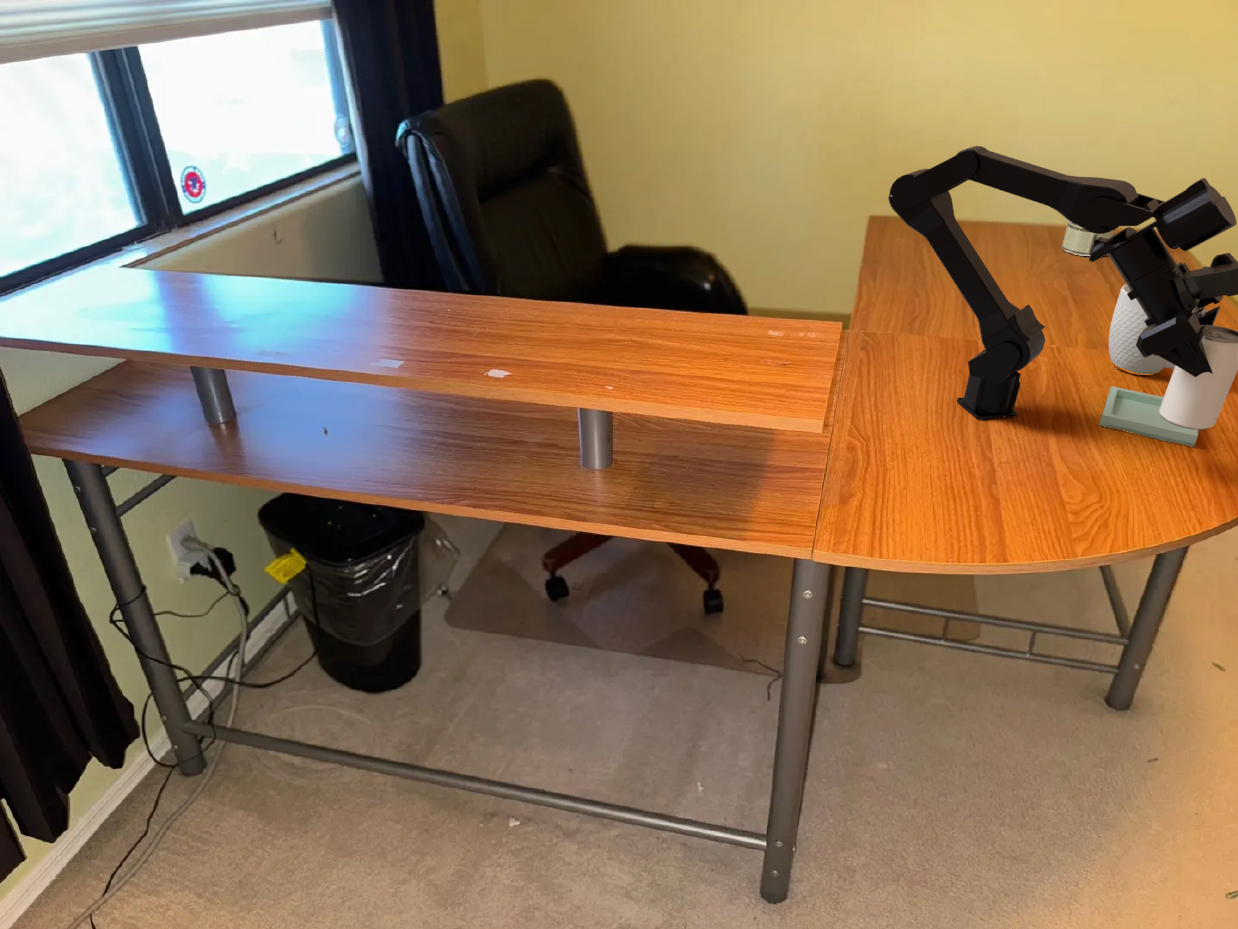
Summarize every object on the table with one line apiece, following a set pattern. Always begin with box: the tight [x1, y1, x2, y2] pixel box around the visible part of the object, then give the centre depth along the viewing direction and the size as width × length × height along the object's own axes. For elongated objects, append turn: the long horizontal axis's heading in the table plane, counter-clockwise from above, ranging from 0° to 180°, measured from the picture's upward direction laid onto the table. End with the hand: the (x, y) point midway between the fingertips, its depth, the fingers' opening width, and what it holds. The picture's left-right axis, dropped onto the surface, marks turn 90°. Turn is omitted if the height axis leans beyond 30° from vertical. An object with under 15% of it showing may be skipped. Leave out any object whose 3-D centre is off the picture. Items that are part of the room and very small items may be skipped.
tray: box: [1098, 385, 1199, 448], centre depth 129 cm, size 12×12×2 cm
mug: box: [1108, 283, 1176, 374], centre depth 142 cm, size 15×11×13 cm
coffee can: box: [1061, 220, 1116, 257], centre depth 205 cm, size 10×10×14 cm
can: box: [1159, 325, 1238, 431], centre depth 112 cm, size 6×6×12 cm
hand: (1216, 375), depth 111 cm, fingers closed on can, 5 cm apart
